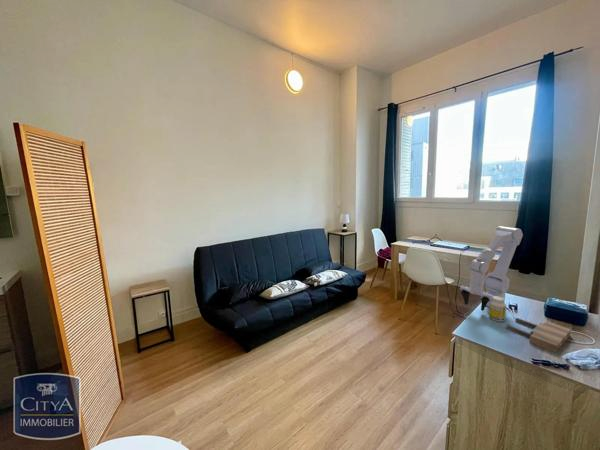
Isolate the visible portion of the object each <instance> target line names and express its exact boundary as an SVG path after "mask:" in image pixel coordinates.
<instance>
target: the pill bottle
mask: <svg viewBox="0 0 600 450" xmlns="http://www.w3.org/2000/svg"><path fill="white" fill-rule="evenodd" d="M505 300H506V298H505V299H504V298H502V297H499V296H493V298H492V301H491V302H490V307H489V309H488V318H490V319H491V320H492V321H496V322H500V323H501V322H504V321H505V319H506V311H507V304H506V303H505V302H506V301H505Z"/></svg>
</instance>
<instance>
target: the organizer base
mask: <svg viewBox="0 0 600 450" xmlns="http://www.w3.org/2000/svg"><path fill="white" fill-rule="evenodd" d="M515 322H517V323H520V324H521V325H525V326H528V327H531V328H533V329H532V330H530V332H527V331H526V330H522V329H520V328H517V327H515V326H513V325H509V324H506V326H505V329H507V330H509V331H511V332H515V333H517V334H519V335H522V336H525V337H528V338H529V343H531V344H534V345H537V346H538V347H541V348H544V349H545V350H548V351H551V352H554V353H557V351H559V349H560V348H561V347H562V346H563V345H564V343H565V342H566V341H567V340H568V339H569V337H571V333H572V329H571V328H568V327H564V326H562V325H559V324H556V323H552V322H550V321H545V322H544V323H542V322H540V323H539V324H537V323H534V322H530V321H528V320H524V319H522V318H519V317H515Z"/></svg>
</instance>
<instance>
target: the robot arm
mask: <svg viewBox="0 0 600 450" xmlns="http://www.w3.org/2000/svg"><path fill="white" fill-rule="evenodd" d="M523 236H524V234H523V231H522V229H521V228H517V227H508V226H503V225H499V226H498V227H496V228H495V231H494V238H492V240H491V242H490V244H489V245H488V246H487V248H484V249H482V250H481V252H480V253H479V254H478V256H476V259H473V260H471V261H470V262H469V264H468V268H469V273H470V279H469V280H470V281H469V286H464V285H461V286H460V287H459V290H461V291H460V293H461V295H462V297H463V300H464V305H466V306H467V305H469V300H470V294H471V295H475V296H476V295H477V296H479V297H481V298H480V300H481V304H480V311H485V308H486V307H488V308H490V302H491V301H492V298H493V296H499V297H502V298H504V299H505V300H506V293H507V292H508V291H509V288H510V282H511V280H510V279H509V278H508V276H507V272H508V269H509V267H510V265H511V262H512V259H513V257H514V254H515V251H516V249H517V247H518V246H519V245H520V244H521V241H522V239H523ZM502 245H503V247H502V249H501V252H500V255H499V257H498V260H497V262H496V265H495V267H494V270H493V271H492V272H489V273H487V271H489V268H490V267H489V266H490V263H491V262H492V260H493V259H494V258H495V257H496V251H498V249H500V247H501V246H502ZM485 273H487V275H486V274H485ZM485 275H486V276H485ZM484 287H485V289H486V291H484Z"/></svg>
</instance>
